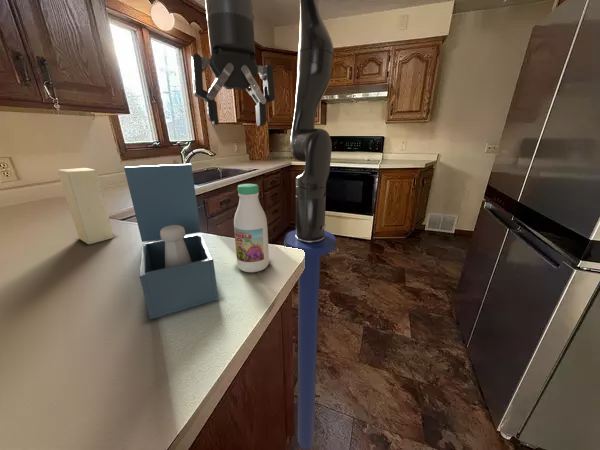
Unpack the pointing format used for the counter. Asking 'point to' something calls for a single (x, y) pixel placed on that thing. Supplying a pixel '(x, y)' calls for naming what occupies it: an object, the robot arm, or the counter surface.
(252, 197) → the milk bottle
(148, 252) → the box
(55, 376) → the counter surface
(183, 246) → the salt shaker
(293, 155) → the robot arm
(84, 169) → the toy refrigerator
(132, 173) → the freezer lid
